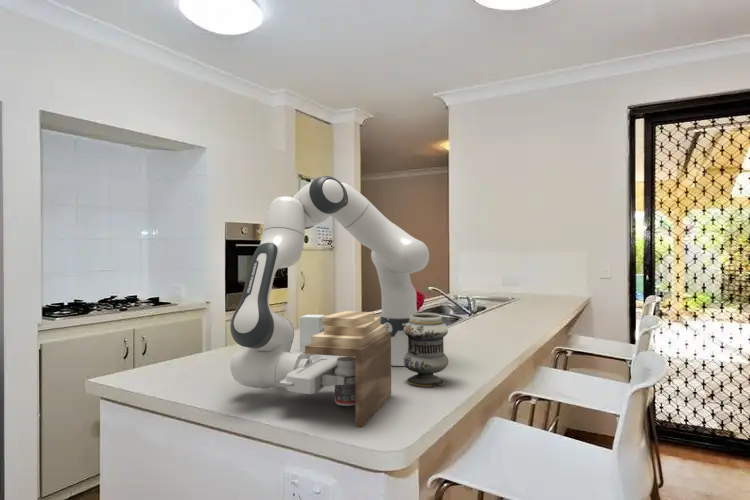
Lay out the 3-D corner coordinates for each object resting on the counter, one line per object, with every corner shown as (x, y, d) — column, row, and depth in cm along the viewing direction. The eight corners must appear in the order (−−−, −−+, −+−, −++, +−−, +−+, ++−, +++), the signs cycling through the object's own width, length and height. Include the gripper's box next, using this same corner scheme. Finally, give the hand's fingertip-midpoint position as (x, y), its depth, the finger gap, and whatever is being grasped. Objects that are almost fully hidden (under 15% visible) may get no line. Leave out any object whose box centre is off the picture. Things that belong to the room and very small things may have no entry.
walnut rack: (305, 421, 100) (305, 346, 100) (343, 391, 121) (343, 329, 121) (362, 427, 96) (361, 349, 96) (391, 395, 117) (390, 331, 117)
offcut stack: (311, 344, 101) (311, 319, 101) (343, 330, 119) (343, 308, 119) (360, 347, 98) (360, 321, 98) (386, 332, 116) (386, 309, 116)
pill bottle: (334, 399, 112) (334, 356, 112) (359, 398, 112) (359, 355, 112) (334, 407, 106) (334, 362, 106) (360, 406, 106) (360, 361, 106)
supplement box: (319, 354, 163) (319, 317, 163) (299, 353, 164) (298, 316, 164) (326, 350, 170) (326, 314, 170) (306, 349, 172) (306, 313, 172)
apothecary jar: (421, 391, 120) (421, 319, 120) (394, 380, 130) (393, 314, 130) (458, 383, 127) (457, 315, 127) (429, 373, 137) (429, 310, 137)
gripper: (273, 369, 103) (333, 373, 99) (313, 349, 122) (364, 352, 118) (273, 398, 103) (333, 404, 99) (313, 374, 122) (365, 378, 118)
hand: (350, 376), depth 109 cm, fingers closed on pill bottle, 6 cm apart
